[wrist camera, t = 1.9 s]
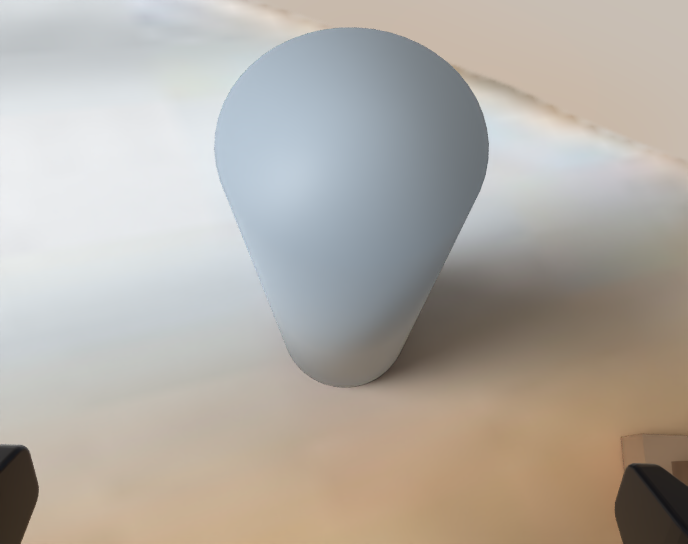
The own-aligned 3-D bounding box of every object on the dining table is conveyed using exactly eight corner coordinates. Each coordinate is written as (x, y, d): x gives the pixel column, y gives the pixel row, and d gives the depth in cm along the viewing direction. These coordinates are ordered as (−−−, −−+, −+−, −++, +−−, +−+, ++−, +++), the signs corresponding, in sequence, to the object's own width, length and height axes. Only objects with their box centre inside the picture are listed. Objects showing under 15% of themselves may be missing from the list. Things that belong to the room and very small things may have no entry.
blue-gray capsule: (405, 389, 21) (494, 273, 9) (278, 384, 21) (198, 261, 9) (406, 270, 22) (483, 31, 10) (287, 265, 22) (228, 22, 10)
